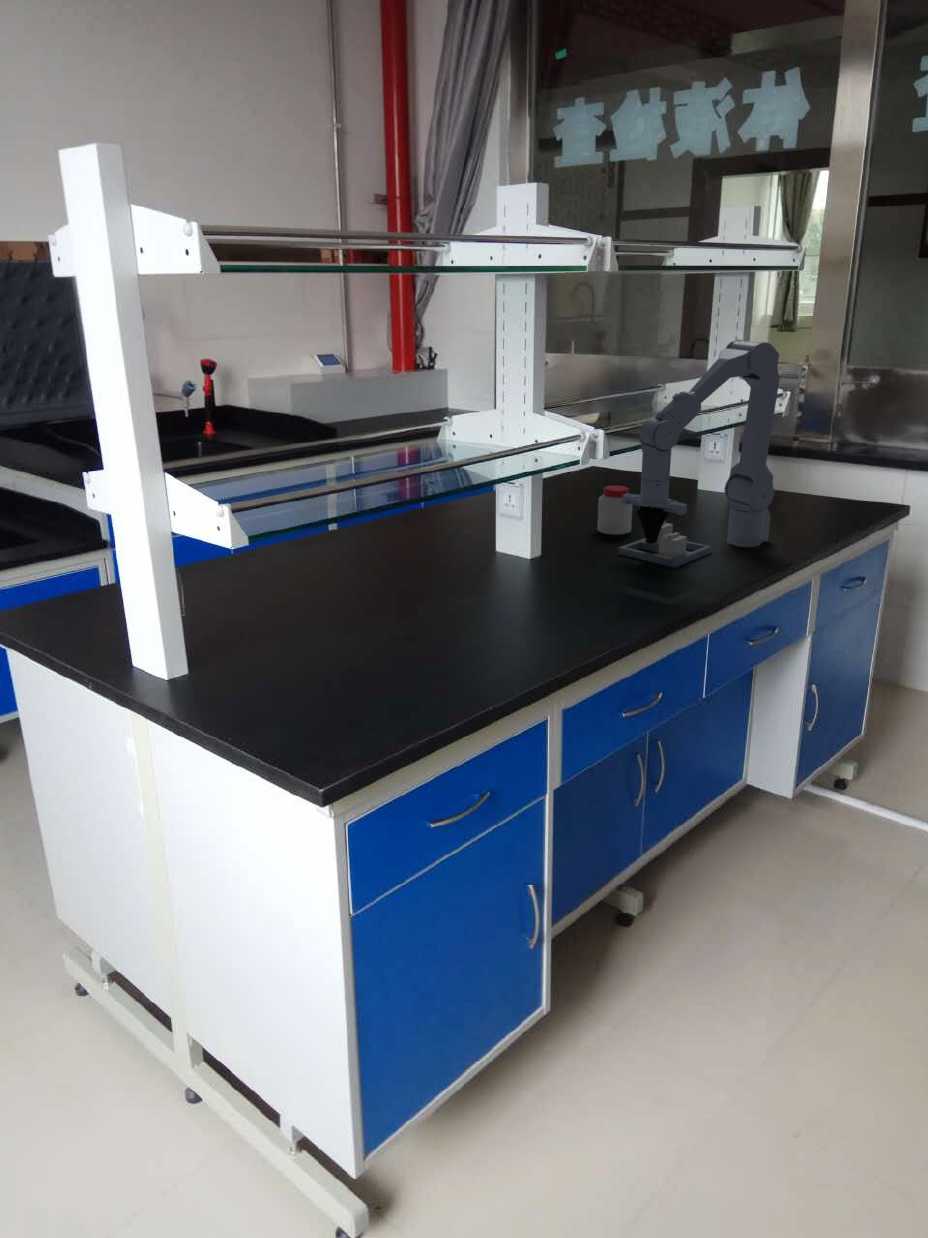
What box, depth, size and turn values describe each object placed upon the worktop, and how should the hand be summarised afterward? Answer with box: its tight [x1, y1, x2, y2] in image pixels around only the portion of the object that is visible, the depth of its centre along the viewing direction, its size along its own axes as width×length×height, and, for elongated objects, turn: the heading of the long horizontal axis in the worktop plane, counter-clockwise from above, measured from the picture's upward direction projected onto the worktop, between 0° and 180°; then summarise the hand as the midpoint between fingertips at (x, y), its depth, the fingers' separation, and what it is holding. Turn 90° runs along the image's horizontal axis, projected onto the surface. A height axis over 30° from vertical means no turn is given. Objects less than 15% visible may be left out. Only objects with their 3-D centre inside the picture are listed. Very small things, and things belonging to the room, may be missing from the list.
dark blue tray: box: [618, 538, 713, 568], centre depth 199 cm, size 14×19×3 cm
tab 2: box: [653, 520, 674, 545], centre depth 201 cm, size 4×4×6 cm
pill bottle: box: [596, 485, 633, 536], centre depth 214 cm, size 8×8×11 cm
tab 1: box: [657, 531, 688, 559], centre depth 192 cm, size 4×4×6 cm
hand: (651, 542), depth 195 cm, fingers closed
